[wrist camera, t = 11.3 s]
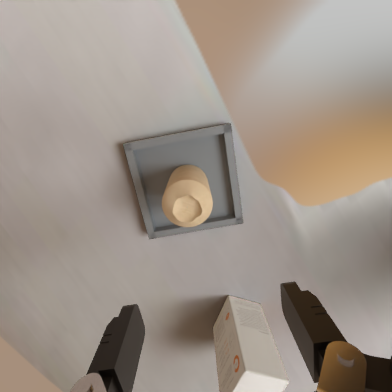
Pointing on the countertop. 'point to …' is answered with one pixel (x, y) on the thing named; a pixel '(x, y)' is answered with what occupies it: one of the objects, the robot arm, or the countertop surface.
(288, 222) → the countertop surface
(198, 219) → the candle
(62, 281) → the countertop surface
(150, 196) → the rest tray
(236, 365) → the small box
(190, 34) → the countertop surface
